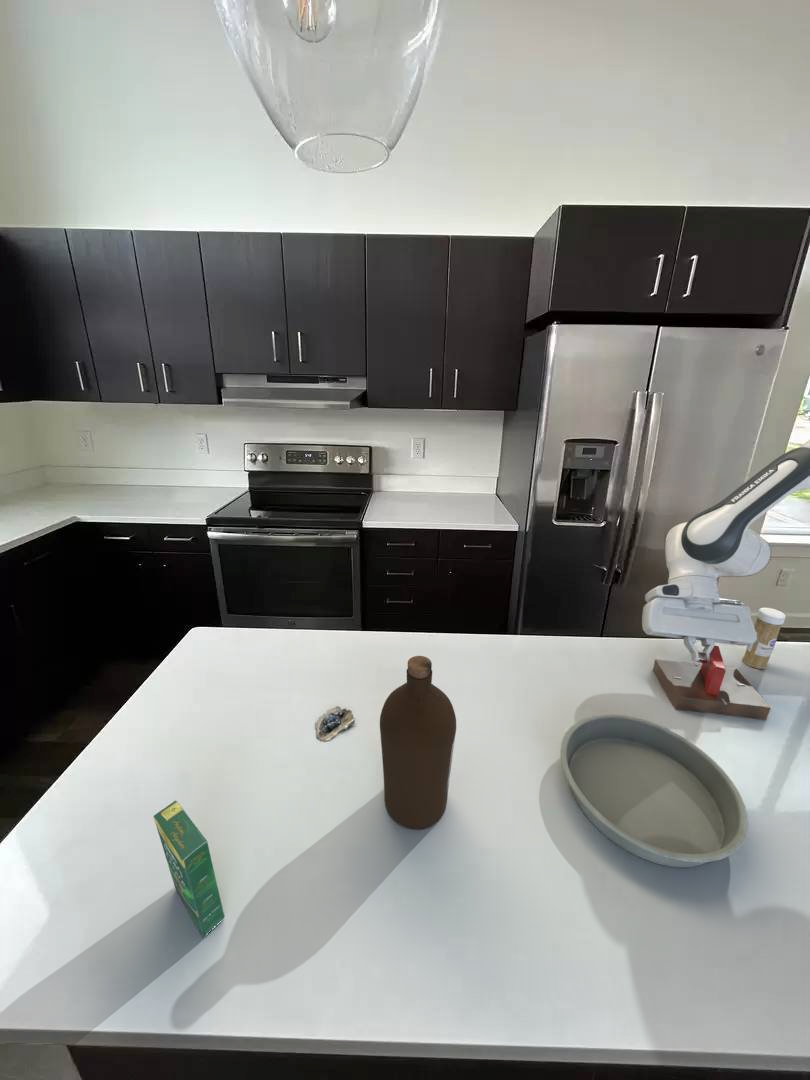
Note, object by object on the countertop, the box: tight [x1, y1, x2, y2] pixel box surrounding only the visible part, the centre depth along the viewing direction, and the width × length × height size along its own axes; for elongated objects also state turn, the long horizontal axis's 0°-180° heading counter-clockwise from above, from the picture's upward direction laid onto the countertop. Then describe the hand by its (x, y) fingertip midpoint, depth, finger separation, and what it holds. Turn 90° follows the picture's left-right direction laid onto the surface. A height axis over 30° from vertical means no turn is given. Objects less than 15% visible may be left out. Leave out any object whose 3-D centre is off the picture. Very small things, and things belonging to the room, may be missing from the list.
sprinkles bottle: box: [742, 607, 787, 670], centre depth 95 cm, size 5×5×13 cm
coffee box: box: [153, 800, 226, 938], centre depth 49 cm, size 8×3×13 cm, turn 49°
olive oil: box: [379, 655, 457, 830], centre depth 60 cm, size 11×11×25 cm
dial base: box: [651, 659, 772, 721], centre depth 87 cm, size 16×13×3 cm
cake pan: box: [560, 713, 749, 868], centre depth 65 cm, size 25×25×4 cm
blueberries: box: [314, 705, 356, 742], centre depth 78 cm, size 7×8×2 cm
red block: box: [701, 644, 726, 696], centre depth 85 cm, size 9×2×6 cm, turn 153°
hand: (701, 662), depth 85 cm, fingers closed
